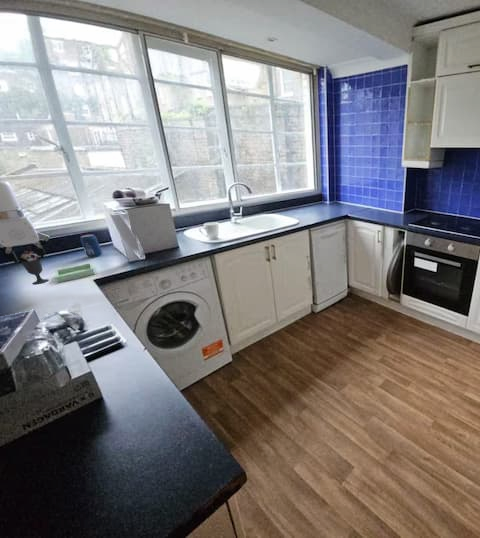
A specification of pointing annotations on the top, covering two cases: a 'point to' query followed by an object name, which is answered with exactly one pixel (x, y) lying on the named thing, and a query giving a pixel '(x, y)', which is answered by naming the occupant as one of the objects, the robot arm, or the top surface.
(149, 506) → the top surface
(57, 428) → the top surface
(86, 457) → the top surface
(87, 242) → the soda can
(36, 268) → the sundae
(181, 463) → the top surface
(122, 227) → the skyscraper
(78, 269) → the tray
